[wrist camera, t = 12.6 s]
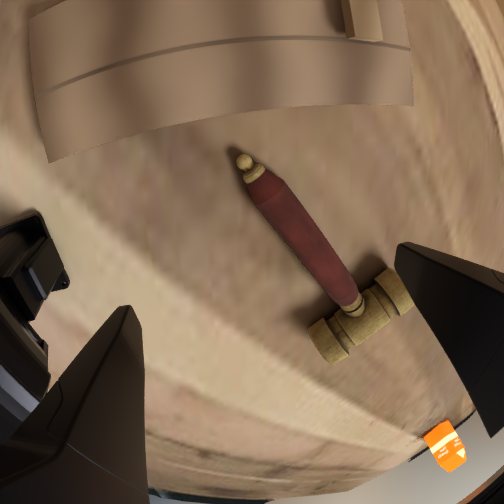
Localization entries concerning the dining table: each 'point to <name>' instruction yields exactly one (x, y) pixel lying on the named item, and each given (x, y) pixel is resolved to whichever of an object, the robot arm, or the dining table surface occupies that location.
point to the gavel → (326, 268)
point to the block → (362, 20)
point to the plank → (202, 63)
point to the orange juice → (446, 446)
